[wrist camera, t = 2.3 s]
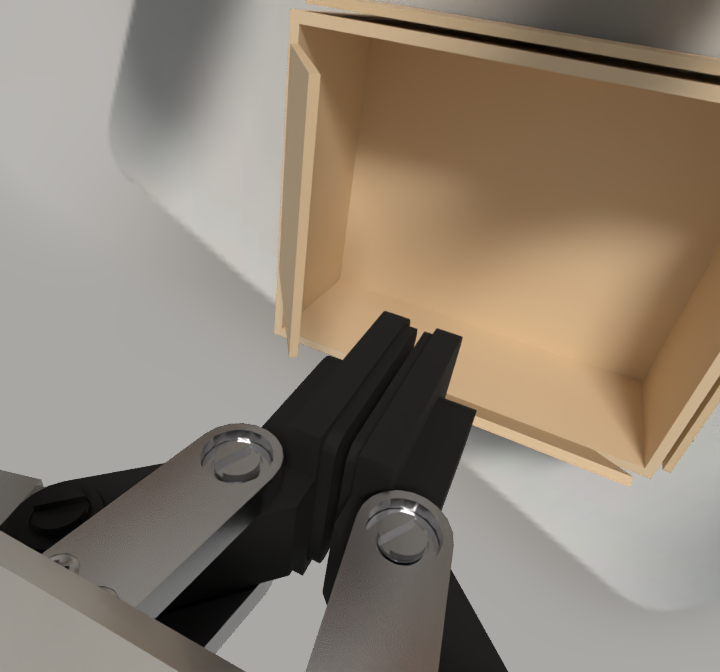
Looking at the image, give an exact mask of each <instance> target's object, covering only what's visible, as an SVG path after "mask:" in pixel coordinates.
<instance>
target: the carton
mask: <svg viewBox="0 0 720 672" xmlns="http://www.w3.org/2000/svg"><path fill="white" fill-rule="evenodd" d="M306 3H308V4H314V5H320V6H325V7H331V8H337V9H343V10H348V11H354V12H360V13H365V14H360V13H344V12H329V11H314V10H298V9H290V24H289V44H288V65H287V86H286V106H285V127H284V147H283V168H282V189H281V209H280V230H279V250H278V271H277V292H276V313H275V334H277V335H280V336H282V337H285V338H287V335H286V326H285V317H284V308H283V300H282V291H281V282H280V273H279V260H280V241H281V221H282V201H283V181H284V161H285V141H286V121H287V101H288V81H289V62H290V43H292V44H299V45H300V47H301V48H302V49H303V51H304V52H305V54H306V55H307V56H308V58H309V59H310V61H311V62H312V63H313V65H314V66H315V67H316V69H317V70H318V72H319V73H320V74H321V77H320V89H319V101H318V114H317V126H316V138H315V150H314V163H313V175H312V187H311V200H310V212H309V224H308V237H307V249H306V261H305V274H304V286H303V298H302V311H301V323H300V335H299V343H300V344H303V345H306V346H308V347H311V348H313V349H316V350H319V351H321V352H324V353H326V354H329V355H331V356H334V357H337V358H339V359H342V360H343V359H344V358H345V357H346V355H347V354H348V353H349V352H350V351H351V349H352V348H353V347H354V346H355V345H356V343H357V342H358V341H359V340H360V339H361V338H362V336H363V335H364V334H365V333H366V332H367V330H368V329H369V328H370V327H371V326H372V324H373V323H374V322H375V321H376V320H377V319H378V317H379V316H380V315H381V314H382V313H383V312H384V311H388V312H391V313H394V314H397V315H400V316H403V317H406V318H409V319H410V326H411V327H414V328H416V329H417V337H416V341H415V345H416V343H417V342H418V340H419V339H420V337H421V336H422V334H423V333H424V332H428V333H431V334H433V333H434V331H435V330H436V328H438V329H441V330H444V331H447V332H450V333H453V334H456V335H459V336H462V337H463V338H462V343H461V346H460V350H459V353H458V357H457V360H456V363H455V367H454V370H453V373H452V377H451V380H450V384H449V387H448V390H447V394H449V395H452V396H454V397H457V398H460V399H462V400H465V401H467V402H470V403H473V404H475V405H478V406H481V407H483V408H486V409H488V410H491V411H494V412H496V413H499V414H501V415H504V416H507V417H509V418H512V419H514V420H517V421H520V422H522V423H525V424H528V425H530V426H533V427H535V428H538V429H541V430H543V431H546V432H548V433H551V434H554V435H556V436H559V437H561V438H564V439H567V440H569V441H572V442H575V443H577V444H580V445H582V446H585V447H588V448H590V449H593V450H595V451H596V452H598V453H599V454H600V455H602V456H603V457H605V458H606V459H608V460H609V461H611V462H612V463H613V464H615V465H616V466H619V467H621V468H624V469H626V470H629V471H631V472H634V473H637V474H639V475H642V476H644V477H647V478H650V479H651V478H652V477H653V475H654V474H655V472H656V471H657V469H658V468H659V466H660V465H661V463H662V465H663V470H664V471H667V472H670V473H671V472H672V470H673V469H674V467H675V466H676V465H677V463H678V462H679V460H680V459H681V457H682V456H683V454H684V453H685V452H686V450H687V449H688V447H689V446H690V444H691V443H692V441H693V440H694V438H695V437H696V436H697V434H698V433H699V431H700V430H701V428H702V427H703V425H704V424H705V422H706V421H707V420H708V418H709V417H710V415H711V414H712V412H713V411H714V409H715V408H716V406H717V405H718V404H719V402H720V58H715V57H709V56H703V55H697V54H691V53H685V52H679V51H673V50H667V49H661V48H655V47H649V46H643V45H637V44H631V43H625V42H619V41H613V40H607V39H601V38H595V37H588V36H582V35H576V34H570V33H564V32H558V31H552V30H546V29H540V28H534V27H528V26H522V25H516V24H510V23H504V22H498V21H492V20H486V19H480V18H474V17H468V16H462V15H456V14H450V13H444V12H438V11H432V10H426V9H420V8H414V7H408V6H402V5H396V4H390V3H384V2H378V1H370V0H306ZM415 345H414V346H415Z"/></svg>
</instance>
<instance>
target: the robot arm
mask: <svg viewBox="0 0 720 672" xmlns="http://www.w3.org/2000/svg"><path fill="white" fill-rule="evenodd" d="M416 337H417V329H416V328H414V327H411V326H410V319H409V318H406V317H403V316H400V315H397V314H394V313H391V312H388V311H384V312H383V313H382V314H381V315H380V316H379V317H378V319H377V320H376V321H375V322H374V323H373V324H372V326H371V327H370V328H369V329H368V330H367V332H366V333H365V334H364V335H363V336H362V338H361V339H360V340H359V341H358V342H357V343H356V345H355V346H354V347H353V348H352V349H351V351H350V352H349V353H348V354H347V355H346V357H345V358H344V359H343V360H341V359H338V358H335V357H332V356H327V357H325V358H324V359H323V360H322V361H321V362H320V363H319V364H318V365H317V366H316V368H315V369H314V370H313V371H312V372H311V373H310V374H309V375H308V376H307V378H306V379H305V380H304V381H303V382H302V383H301V384H300V385H299V386H298V388H297V389H296V390H295V391H294V392H293V393H292V394H291V395H290V396H289V398H288V399H287V400H286V401H285V402H284V403H283V404H282V405H281V406H280V408H279V409H278V410H277V411H276V412H275V413H274V414H273V415H272V416H271V417H270V419H269V420H268V421H267V422H266V423H265V424H264V425H263V426H262V427H259V426H256V425H250V424H244V423H240V424H228V425H224V426H220V427H217V428H215V429H213V430H211V431H209V432H207V433H206V434H204V435H203V436H201V437H200V438H199V439H197V440H196V441H194V442H193V443H192V444H190V445H189V446H188V447H186V448H185V449H184V450H182V451H181V452H180V453H178V454H177V455H175V456H174V457H173V458H171V459H170V460H169V461H167V462H166V463H163V464H158V465H152V466H147V467H141V468H135V469H130V470H125V471H119V472H113V473H108V474H102V475H97V476H91V477H85V478H81V479H74V480H69V481H64V482H61V483H57V484H54V485H50V486H48V487H43V484H42V481H41V479H36V478H32V477H28V476H23V475H19V474H15V473H11V472H6V471H2V470H0V672H245V671H243V670H242V669H240V668H238V667H236V666H235V665H233V664H231V663H230V662H228V661H226V660H224V659H223V658H221V657H219V656H217V655H216V654H215V653H216V652H217V651H218V650H219V649H220V647H221V646H222V645H223V644H224V643H225V642H226V640H227V639H228V638H229V637H230V636H231V634H232V633H233V632H234V631H235V629H236V628H237V627H238V626H239V625H240V624H241V623H242V621H243V620H244V619H245V618H246V617H247V615H248V614H249V613H250V612H251V611H252V609H253V608H254V607H255V606H256V605H257V604H258V602H259V601H260V600H261V599H262V598H263V596H264V595H265V594H266V592H267V591H268V589H269V587H270V586H271V584H272V581H273V580H274V579H278V578H281V577H285V576H288V575H290V573H291V572H292V570H293V571H295V572H297V573H299V574H301V575H303V574H304V572H305V571H306V569H307V567H308V565H309V564H310V562H311V560H315V561H316V562H318V563H321V561H322V560H323V559H324V557H325V556H326V554H327V552H328V550H329V549H330V552H329V557H328V564H327V569H326V575H325V580H324V587H323V595H324V598H325V601H326V604H327V608H326V611H325V614H324V617H323V620H322V623H321V626H320V629H319V632H318V635H317V639H316V642H315V644H314V648H313V651H312V654H311V657H310V660H309V663H308V666H307V669H306V672H508V671H507V669H506V667H505V666H504V664H503V662H502V660H501V658H500V656H499V655H498V653H497V651H496V649H495V647H494V646H493V644H492V642H491V640H490V638H489V637H488V635H487V633H486V632H485V629H484V628H483V626H482V624H481V622H480V620H479V619H478V617H477V615H476V614H475V611H474V610H473V608H472V606H471V604H470V602H469V601H468V599H467V597H466V595H465V594H464V592H463V590H462V588H461V586H460V585H459V583H458V581H457V579H456V577H455V576H454V574H453V572H452V570H451V563H452V554H453V546H454V544H453V531H452V529H451V526H450V524H449V522H448V519H447V518H446V517H445V515H444V514H443V513H442V508H443V505H444V502H445V500H446V497H447V494H448V491H449V488H450V486H451V483H452V480H453V478H454V475H455V472H456V469H457V466H458V464H459V461H460V458H461V455H462V453H463V450H464V447H465V444H466V441H467V438H468V435H469V433H470V430H471V427H472V424H473V421H474V418H475V415H476V412H477V410H475V409H473V408H470V407H467V406H464V405H462V404H459V403H456V402H454V401H451V400H448V399H446V398H445V397H446V394H447V390H448V387H449V384H450V380H451V377H452V373H453V370H454V367H455V363H456V360H457V357H458V353H459V350H460V346H461V343H462V338H463V337H462V336H459V335H456V334H453V333H450V332H447V331H444V330H441V329H438V328H436V330H435V331H434V333H433V334H431V333H428V332H424V333H423V334H422V336H421V337H420V339H419V340H418V342H417V343H416V345H415V341H416ZM414 345H415V346H414Z"/></svg>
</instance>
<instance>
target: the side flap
mask: <svg viewBox="0 0 720 672" xmlns="http://www.w3.org/2000/svg"><path fill="white" fill-rule="evenodd" d="M445 398H446V399H448V400H451V401H454V402H456V403H459V404H462V405H464V406H467V407H470V408H473V409H475V410H477V412H476V415H475V418H474V421H473V424H472V425H474V426H476V427H479V428H481V429H484V430H486V431H489V432H491V433H494V434H497V435H499V436H502V437H504V438H507V439H509V440H512V441H514V442H517V443H519V444H522V445H524V446H527V447H529V448H532V449H535V450H537V451H540V452H542V453H545V454H547V455H550V456H552V457H555V458H557V459H560V460H562V461H565V462H567V463H570V464H573V465H575V466H578V467H580V468H583V469H585V470H588V471H590V472H593V473H595V474H598V475H600V476H603V477H605V478H608V479H610V480H613V481H616V482H618V483H621V484H623V485H626V486H628V487H630V485H631V483H632V480H633V477H632V476H631V475H629V474H628V473H626V472H625V471H624V470H622V469H621V468H619V467H618V466H616V465H615V464H613V463H612V462H611V461H609V460H608V459H606V458H605V457H603V456H602V455H600V454H599V453H598V452H596V451H595V450H593V449H590V448H588V447H585V446H582V445H580V444H577V443H575V442H572V441H569V440H567V439H564V438H561V437H559V436H556V435H554V434H551V433H548V432H546V431H543V430H541V429H538V428H535V427H533V426H530V425H528V424H525V423H522V422H520V421H517V420H514V419H512V418H509V417H507V416H504V415H501V414H499V413H496V412H494V411H491V410H488V409H486V408H483V407H481V406H478V405H475V404H473V403H470V402H467V401H465V400H462V399H460V398H457V397H454V396H452V395H449V394H446V397H445Z"/></svg>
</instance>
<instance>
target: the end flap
mask: <svg viewBox="0 0 720 672" xmlns="http://www.w3.org/2000/svg"><path fill="white" fill-rule="evenodd" d="M320 77H321V74H320V73H319V72H318V70H317V69H316V67H315V66H314V65H313V63H312V62H311V61H310V59H309V58H308V56H307V55H306V54H305V52H304V51H303V49H302V48H301V47H300V45H299V44H292V43H290V62H289V81H288V101H287V121H286V141H285V161H284V181H283V201H282V221H281V241H280V260H279V273H280V282H281V291H282V300H283V308H284V317H285V326H286V335H287V343H288V352H289V357H298V347H299V335H300V323H301V311H302V298H303V286H304V274H305V261H306V249H307V237H308V224H309V212H310V200H311V187H312V175H313V163H314V150H315V138H316V126H317V114H318V101H319V89H320Z"/></svg>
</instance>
